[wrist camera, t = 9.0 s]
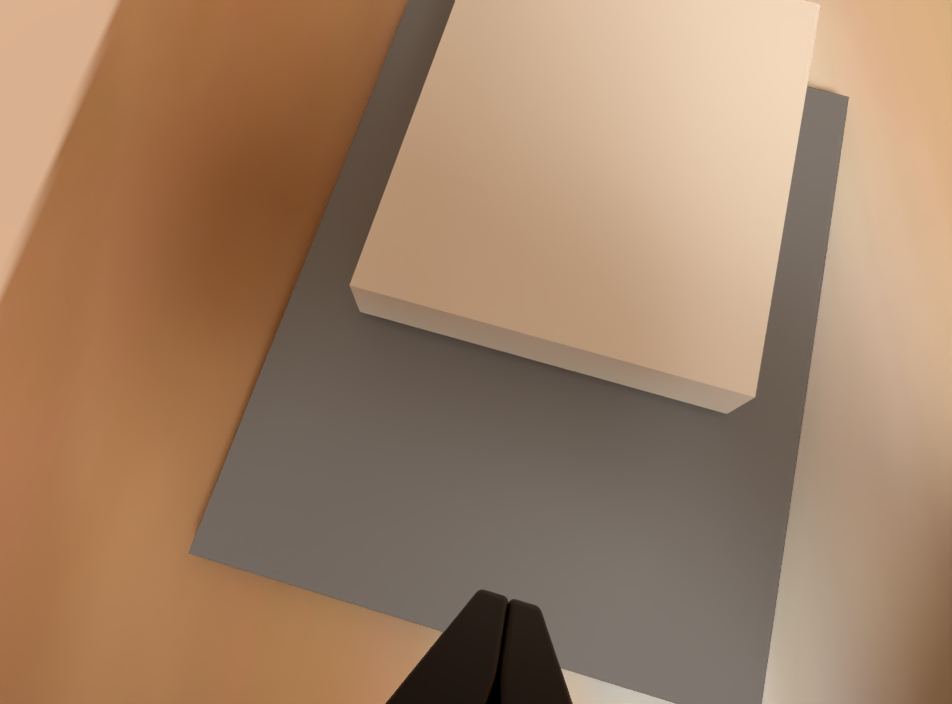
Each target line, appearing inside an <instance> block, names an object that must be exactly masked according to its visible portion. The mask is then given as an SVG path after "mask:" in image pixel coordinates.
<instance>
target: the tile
mask: <svg viewBox="0 0 952 704" xmlns="http://www.w3.org/2000/svg"><path fill="white" fill-rule="evenodd" d="M820 6H821V4H817V3H813V2H809V1H804V0H455V3H454V6H453V8H452V11H451V14H450V16H449V19H448V22H447V24H446V27H445V30H444V32H443V35H442V38H441V41H440V43H439V46H438V49H437V51H436V54H435V57H434V59H433V62H432V65H431V67H430V70H429V73H428V75H427V78H426V81H425V84H424V86H423V89H422V92H421V94H420V97H419V100H418V102H417V105H416V108H415V110H414V113H413V116H412V118H411V121H410V124H409V127H408V129H407V132H406V135H405V137H404V140H403V143H402V145H401V148H400V151H399V153H398V156H397V159H396V161H395V164H394V167H393V170H392V172H391V175H390V178H389V180H388V183H387V186H386V188H385V191H384V194H383V196H382V199H381V202H380V204H379V207H378V210H377V212H376V215H375V218H374V221H373V223H372V226H371V229H370V231H369V234H368V237H367V239H366V242H365V245H364V247H363V250H362V253H361V255H360V258H359V261H358V264H357V266H356V269H355V272H354V274H353V277H352V280H351V282H350V285H349V286H350V288H351V291H352V293H353V296H354V298H355V301H356V303H357V306H358V308H359V311H360V312H363V313H366V314H370V315H374V316H377V317H381V318H384V319H388V320H391V321H395V322H399V323H402V324H406V325H409V326H413V327H417V328H420V329H424V330H427V331H431V332H435V333H438V334H442V335H445V336H449V337H453V338H456V339H460V340H463V341H467V342H470V343H474V344H478V345H481V346H485V347H488V348H492V349H496V350H499V351H503V352H506V353H510V354H514V355H517V356H521V357H524V358H528V359H531V360H535V361H539V362H542V363H546V364H549V365H553V366H557V367H560V368H564V369H567V370H571V371H575V372H578V373H582V374H585V375H589V376H593V377H596V378H600V379H603V380H607V381H610V382H614V383H618V384H621V385H625V386H628V387H632V388H636V389H639V390H643V391H646V392H650V393H654V394H657V395H661V396H664V397H668V398H671V399H675V400H679V401H682V402H686V403H689V404H693V405H697V406H700V407H704V408H707V409H711V410H715V411H718V412H722V413H725V414H728V413H729V412H731V411H733V410H734V409H736V408H738V407H740V406H741V405H743V404H745V403H746V402H748V401H750V400H752V399H753V398H755V395H756V389H757V383H758V377H759V371H760V365H761V360H762V354H763V348H764V342H765V336H766V330H767V324H768V318H769V312H770V306H771V300H772V294H773V288H774V282H775V276H776V270H777V264H778V258H779V252H780V246H781V240H782V234H783V228H784V222H785V216H786V210H787V204H788V198H789V192H790V186H791V180H792V174H793V168H794V162H795V156H796V150H797V144H798V138H799V132H800V126H801V120H802V114H803V108H804V102H805V96H806V90H807V84H808V78H809V72H810V66H811V60H812V54H813V48H814V42H815V36H816V30H817V24H818V18H819V12H820Z"/></svg>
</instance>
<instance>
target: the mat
mask: <svg viewBox="0 0 952 704" xmlns="http://www.w3.org/2000/svg"><path fill="white" fill-rule="evenodd" d="M454 3H455V0H409V1H408V3H407V6H406V8H405V11H404V13H403V16H402V18H401V21H400V24H399V26H398V29H397V31H396V34H395V36H394V39H393V41H392V44H391V46H390V49H389V51H388V54H387V56H386V59H385V61H384V64H383V66H382V69H381V71H380V74H379V76H378V79H377V81H376V84H375V86H374V89H373V91H372V94H371V96H370V99H369V101H368V104H367V106H366V109H365V111H364V114H363V116H362V119H361V121H360V124H359V126H358V129H357V131H356V134H355V136H354V139H353V141H352V144H351V146H350V149H349V152H348V154H347V157H346V159H345V162H344V164H343V167H342V169H341V172H340V174H339V177H338V179H337V182H336V184H335V187H334V189H333V192H332V194H331V197H330V199H329V202H328V204H327V207H326V209H325V212H324V214H323V217H322V219H321V222H320V224H319V227H318V229H317V232H316V234H315V237H314V239H313V242H312V244H311V247H310V249H309V252H308V254H307V257H306V259H305V262H304V264H303V267H302V269H301V272H300V274H299V277H298V280H297V282H296V285H295V287H294V290H293V292H292V295H291V297H290V300H289V302H288V305H287V307H286V310H285V312H284V315H283V317H282V320H281V322H280V325H279V327H278V330H277V332H276V335H275V337H274V340H273V342H272V345H271V347H270V350H269V352H268V355H267V357H266V360H265V362H264V365H263V367H262V370H261V372H260V375H259V377H258V380H257V382H256V385H255V387H254V390H253V392H252V395H251V397H250V400H249V402H248V405H247V408H246V410H245V413H244V415H243V418H242V420H241V423H240V425H239V428H238V430H237V433H236V435H235V438H234V440H233V443H232V445H231V448H230V450H229V453H228V455H227V458H226V460H225V463H224V465H223V468H222V470H221V473H220V475H219V478H218V480H217V483H216V485H215V488H214V490H213V493H212V495H211V498H210V500H209V503H208V505H207V508H206V510H205V513H204V515H203V518H202V520H201V523H200V525H199V528H198V530H197V533H196V536H195V538H194V541H193V543H192V546H191V548H190V551H189V554H192V555H196V556H199V557H202V558H205V559H209V560H212V561H215V562H218V563H221V564H225V565H228V566H231V567H234V568H238V569H241V570H244V571H247V572H251V573H254V574H257V575H260V576H264V577H267V578H270V579H273V580H277V581H280V582H283V583H286V584H290V585H293V586H296V587H299V588H303V589H306V590H309V591H312V592H316V593H319V594H322V595H325V596H329V597H332V598H335V599H338V600H342V601H345V602H348V603H351V604H355V605H358V606H361V607H364V608H368V609H371V610H374V611H377V612H381V613H384V614H387V615H390V616H394V617H397V618H400V619H403V620H407V621H410V622H413V623H416V624H420V625H423V626H426V627H429V628H432V629H436V630H439V631H442V632H444V631H445V630H446V629H447V627H448V626H449V625H450V624H451V623H452V621H453V620H454V619H455V618H456V616H457V615H458V614H459V613H460V611H461V610H462V609H463V608H464V607H465V605H466V604H467V603H468V602H469V600H470V599H471V598H472V597H473V595H474V594H475V593H476V592H477V591H479V590H481V589H483V590H487V591H490V592H494V593H497V594H500V595H504V596H506V597H507V599H508V602H509V601H510V600H512V599H517V600H520V601H524V602H527V603H530V604H533V605H536V606H538V607H539V608H540V609H541V611H542V614H543V617H544V620H545V623H546V626H547V629H548V632H549V635H550V638H551V641H552V644H553V647H554V650H555V653H556V656H557V659H558V662H559V665H560V668H562V669H566V670H569V671H572V672H575V673H579V674H582V675H585V676H588V677H592V678H595V679H598V680H601V681H605V682H608V683H611V684H614V685H618V686H621V687H624V688H627V689H631V690H634V691H637V692H640V693H644V694H647V695H650V696H653V697H656V698H660V699H663V700H666V701H669V702H673V703H676V704H762V697H763V690H764V683H765V676H766V669H767V662H768V655H769V649H770V642H771V635H772V628H773V621H774V614H775V607H776V600H777V593H778V586H779V579H780V572H781V565H782V558H783V551H784V544H785V537H786V530H787V523H788V516H789V509H790V502H791V495H792V489H793V482H794V475H795V468H796V461H797V454H798V447H799V440H800V433H801V426H802V419H803V412H804V405H805V398H806V391H807V384H808V377H809V370H810V363H811V356H812V349H813V342H814V335H815V329H816V322H817V315H818V308H819V301H820V294H821V287H822V280H823V273H824V266H825V259H826V252H827V245H828V238H829V231H830V224H831V217H832V210H833V203H834V196H835V189H836V182H837V175H838V169H839V162H840V155H841V148H842V141H843V134H844V127H845V120H846V113H847V106H848V99H849V97H847V96H843V95H839V94H835V93H831V92H827V91H823V90H819V89H814V88H810V87H807V90H806V96H805V102H804V108H803V114H802V120H801V126H800V132H799V138H798V144H797V150H796V156H795V162H794V168H793V174H792V180H791V186H790V192H789V198H788V204H787V210H786V216H785V222H784V228H783V234H782V240H781V246H780V252H779V258H778V264H777V270H776V276H775V282H774V288H773V294H772V300H771V306H770V312H769V318H768V324H767V330H766V336H765V342H764V348H763V354H762V360H761V365H760V371H759V377H758V383H757V389H756V395H755V398H753V399H752V400H750V401H748V402H746V403H745V404H743V405H741V406H740V407H738V408H736V409H734V410H733V411H731V412H729V413H728V414H725V413H722V412H718V411H715V410H711V409H707V408H704V407H700V406H697V405H693V404H689V403H686V402H682V401H679V400H675V399H671V398H668V397H664V396H661V395H657V394H654V393H650V392H646V391H643V390H639V389H636V388H632V387H628V386H625V385H621V384H618V383H614V382H610V381H607V380H603V379H600V378H596V377H593V376H589V375H585V374H582V373H578V372H575V371H571V370H567V369H564V368H560V367H557V366H553V365H549V364H546V363H542V362H539V361H535V360H531V359H528V358H524V357H521V356H517V355H514V354H510V353H506V352H503V351H499V350H496V349H492V348H488V347H485V346H481V345H478V344H474V343H470V342H467V341H463V340H460V339H456V338H453V337H449V336H445V335H442V334H438V333H435V332H431V331H427V330H424V329H420V328H417V327H413V326H409V325H406V324H402V323H399V322H395V321H391V320H388V319H384V318H381V317H377V316H374V315H370V314H366V313H363V312H360V311H359V308H358V306H357V303H356V301H355V298H354V296H353V293H352V291H351V288H350V286H349V285H350V282H351V280H352V277H353V274H354V272H355V269H356V266H357V264H358V261H359V258H360V255H361V253H362V250H363V247H364V245H365V242H366V239H367V237H368V234H369V231H370V229H371V226H372V223H373V221H374V218H375V215H376V212H377V210H378V207H379V204H380V202H381V199H382V196H383V194H384V191H385V188H386V186H387V183H388V180H389V178H390V175H391V172H392V170H393V167H394V164H395V161H396V159H397V156H398V153H399V151H400V148H401V145H402V143H403V140H404V137H405V135H406V132H407V129H408V127H409V124H410V121H411V118H412V116H413V113H414V110H415V108H416V105H417V102H418V100H419V97H420V94H421V92H422V89H423V86H424V84H425V81H426V78H427V75H428V73H429V70H430V67H431V65H432V62H433V59H434V57H435V54H436V51H437V49H438V46H439V43H440V41H441V38H442V35H443V32H444V30H445V27H446V24H447V22H448V19H449V16H450V14H451V11H452V8H453V6H454Z"/></svg>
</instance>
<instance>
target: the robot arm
mask: <svg viewBox="0 0 952 704" xmlns="http://www.w3.org/2000/svg"><path fill="white" fill-rule="evenodd" d="M386 704H572V701H571V698H570V695H569V692H568V689H567V686H566V683H565V680H564V677H563V674H562V671H561V668H560V665H559V662H558V659H557V656H556V653H555V650H554V647H553V644H552V641H551V638H550V635H549V632H548V629H547V626H546V623H545V620H544V617H543V614H542V611H541V609H540V608H539V607H538V606H536V605H533V604H530V603H527V602H524V601H520V600H517V599H512V600H510V601H509V602H508V599H507V597H506V596H504V595H500V594H497V593H494V592H490V591H487V590H483V589H481V590H479V591H477V592H476V593H475V594H474V595H473V597H472V598H471V599H470V600H469V602H468V603H467V604H466V605H465V607H464V608H463V609H462V610H461V611H460V613H459V614H458V615H457V616H456V618H455V619H454V620H453V621H452V623H451V624H450V625H449V626H448V627H447V629H446V630H445V631H444V632H443V634H442V635H441V636H440V637H439V638H438V640H437V641H436V642H435V643H434V645H433V646H432V647H431V648H430V650H429V651H428V652H427V653H426V654H425V656H424V657H423V658H422V659H421V661H420V662H419V663H418V664H417V666H416V667H415V668H414V669H413V670H412V672H411V673H410V674H409V675H408V677H407V678H406V679H405V680H404V681H403V683H402V684H401V685H400V686H399V688H398V689H397V690H396V691H395V693H394V694H393V695H392V696H391V697H390V699H389V700H388V701H387V702H386Z"/></svg>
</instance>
